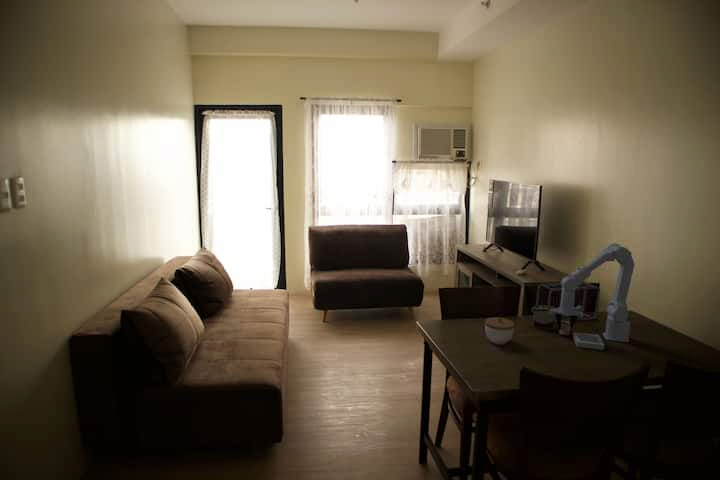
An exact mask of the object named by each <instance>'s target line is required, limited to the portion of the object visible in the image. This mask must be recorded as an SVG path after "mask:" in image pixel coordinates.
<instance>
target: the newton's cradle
mask: <svg viewBox="0 0 720 480" xmlns="http://www.w3.org/2000/svg"><path fill="white" fill-rule="evenodd" d="M581 285H584V286H581ZM557 286H559V287H557ZM561 286H562V285H561V282H553V283H551V282H550V283H549V282H548V283H540V284H538V286H537V291H536V301H535V305H540V302H539V301H540V291H541V287H545V288H547V289H548V290H549V289H550V290H549V292H548V299H547V306H551V303H553V307H554V308H556V309H560V306H559V307H556V305H557V303H554V302H557V300H558V295H559V294H560V292H562V287H561ZM551 287H553V288H551ZM554 287H555V288H554ZM594 289H595V290H596V289H597V296H596V304H595V313H594V316H590V315H588V314H586V313H584V312H585V309H586V301H587V292H588V290H594ZM580 290H583V294H582V295H583V296H582V299H581V302H580V299H578V301H579V302H578V303H579V305H577V306H574V307H573V311H577V312H583V316H586V317H583V318H582V317H577V320H576V322H579V321H590V320H595V319H596V318H598V311H599V303H600V295H601V287H600V286H597V285H596V286H595V285H592V284H590V283H587V282H586V281H585V280H584V281H583V282H581V283H580V284H579V285H578V288H577V289H576V290H575V291H577V292H576V294H575V298H574V301H576V300H577V296H578V294H579V291H580ZM554 292H557V295H556V300H555V298H554V294H555V293H554ZM552 295H553V296H552ZM552 297H553V300H552ZM554 300H555V301H554ZM551 301H553V302H551ZM581 304H582V305H581ZM574 305H576V303H575V302H574ZM561 321H569V322H570V318H569V319H567V318H566V319H561ZM555 323H557V319H555ZM555 323H554V324H555Z"/></svg>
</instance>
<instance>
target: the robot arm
mask: <svg viewBox="0 0 720 480" xmlns="http://www.w3.org/2000/svg"><path fill="white" fill-rule="evenodd" d="M615 261H616V262H617V263H618V264H619V266H620V268H619V271H618V275H617V279H616V280H617V281H616V283H615V289H614V293H613V297H612V298H611V299H610V300H609V303H608V304H607V306H606V308H605V312H606V313H607V318H606V325H605V332H602V335H603V337H604V339H605V340H606V341H615V342H623V343H629V337H630V331H631V324H630V321H629V320H627V319H628V317H629V314H628V305H627V297H628V294H629V291H630V290H629V289H630V286H631V281H632V277H633V274H634V268H635V262H634V258H633V256H632V252H631V251H630V250H629V249H628V248H627V247H625V246H622V245H620V244H618V243H611V244H609V245H608V246H607V247H605V248H604V249H603V250H602V252H600V253H599V254H598V255H597V256H596V257H594V258H593V259H592V260H590V262H588V264H586V265H581V266H578V267H576V269H575V270H574V271H573V272H572V273H569V274H568V275H567V276H564V277H563V278H562V280H561V281H560V283H561V285H560V286H561V288H562V291H561V292H560V302H559V307H560V309H557V308H556V309H550V310H549V314H555V316H556V319H555V320H557V322H556V323H557V329H558V331H559V330H560V328H561V320H563V319H562V316H567V317H568V316H569V319H570V321H569V323H570V325H571V326H570V332H571V331H572V329H573V326H574V325H575V323H576V322H577V321H576V320H577V319H578V318H584V314H583V313H584V312H577V311H573V307H575V304H574V303H575V299H576V291H577V290H576V289H577V288H578V287H579V286H580V285H581V284H580V283H581V282H583V281H585V280H586V279H588V278H589V277H591V273H592V271H594V270H596V269H597V268H599V267H600V266H602V265H603V264H604V263H605V264H606V263H607V262H615ZM579 284H580V285H579ZM578 285H579V286H578Z"/></svg>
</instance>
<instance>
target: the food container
mask: <svg viewBox="0 0 720 480" xmlns="http://www.w3.org/2000/svg"><path fill="white" fill-rule="evenodd" d="M554 307H555V306H551V305H550V306H548V304H547V305H545V304H538V305H536V304H535V305H534V306H533V307H532V308H531V312H532V322H533V323H532V324H533V325H532V326H533V328H535V329H554V327H555V320H557V319H556V316H555V314H549V310H550V309H557V307H555V308H554Z"/></svg>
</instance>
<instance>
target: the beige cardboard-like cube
mask: <svg viewBox="0 0 720 480" xmlns="http://www.w3.org/2000/svg"><path fill="white" fill-rule="evenodd" d="M570 326H571V325H570V321H561V328H560V330H558V332H559V335H562V336H563V335H564V336H570V334H571V331H570Z"/></svg>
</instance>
